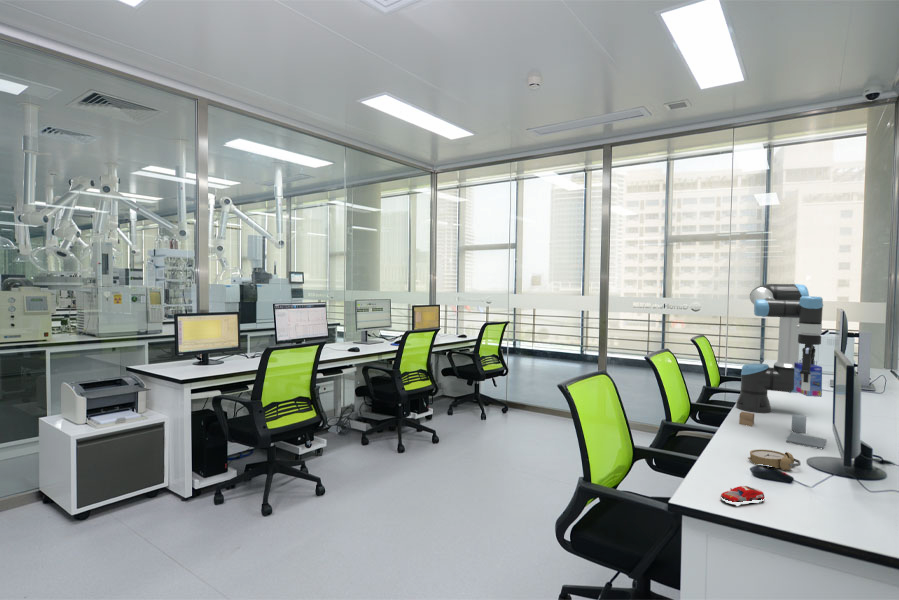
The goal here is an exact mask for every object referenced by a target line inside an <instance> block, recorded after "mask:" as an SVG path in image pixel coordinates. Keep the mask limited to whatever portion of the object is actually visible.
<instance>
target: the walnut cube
mask: <svg viewBox="0 0 899 600" xmlns="http://www.w3.org/2000/svg"><path fill="white" fill-rule="evenodd" d="M738 420H739V421H738V422H739V423H738V424H739V425H741V426H746V425H747V426H748V427H753V426H754V425H755V412H753V413H752V412H749V411H748V412H747V411H740V413H739V418H738Z"/></svg>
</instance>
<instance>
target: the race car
mask: <svg viewBox="0 0 899 600" xmlns="http://www.w3.org/2000/svg"><path fill="white" fill-rule="evenodd" d="M721 497H722V498H723V499H725V500H728V501H732V502H743V501H752V500H761V499H762V500H763V499H764V498H765V493H764V491H762V490H759V488H755V487H750V486H747V485H740V486H736V487H733V488H731V487H730V490H727V491H724V492H722V493H721V494H720V498H721ZM764 500H765V499H764Z"/></svg>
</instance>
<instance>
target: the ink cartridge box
mask: <svg viewBox="0 0 899 600" xmlns="http://www.w3.org/2000/svg"><path fill="white" fill-rule="evenodd" d="M801 360H802V361H803V357H802V358H801ZM800 371H802V362H798V363H794V391H795V392H798V393H797V394H801V395H804V396H806V397H814V398H815V397H816V398H817V397H818V398H819V397H820V398H821V397H822V396H823V367H822V366H821V365H818V364H817V365H816V364H814V365H813V364H811V368H810V374H811V377H810V391H806V390H801V384H802V374H800Z"/></svg>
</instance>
